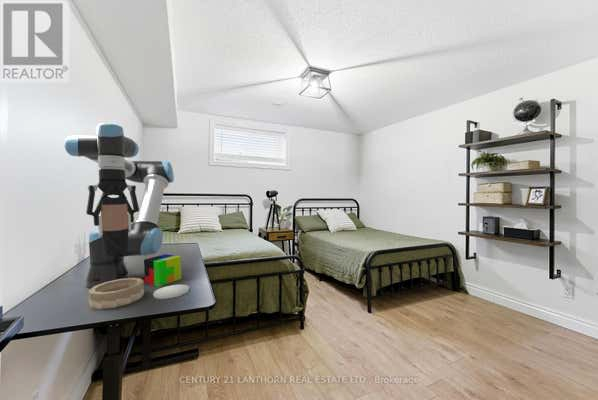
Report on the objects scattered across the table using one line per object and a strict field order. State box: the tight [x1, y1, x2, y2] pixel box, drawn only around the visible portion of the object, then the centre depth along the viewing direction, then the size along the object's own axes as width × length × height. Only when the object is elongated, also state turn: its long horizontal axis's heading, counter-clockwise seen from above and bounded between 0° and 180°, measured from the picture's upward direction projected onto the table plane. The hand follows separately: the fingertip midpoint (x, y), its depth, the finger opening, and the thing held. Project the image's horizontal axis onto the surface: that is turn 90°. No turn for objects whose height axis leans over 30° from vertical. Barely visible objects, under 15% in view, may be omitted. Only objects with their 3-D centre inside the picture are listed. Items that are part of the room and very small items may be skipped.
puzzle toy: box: [143, 253, 182, 287], centre depth 108 cm, size 10×10×10 cm
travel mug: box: [100, 196, 129, 256], centre depth 89 cm, size 8×8×20 cm
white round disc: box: [152, 284, 190, 300], centre depth 95 cm, size 12×12×1 cm
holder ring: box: [88, 277, 145, 310], centre depth 90 cm, size 15×15×5 cm
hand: (115, 233), depth 90 cm, fingers closed on travel mug, 8 cm apart
